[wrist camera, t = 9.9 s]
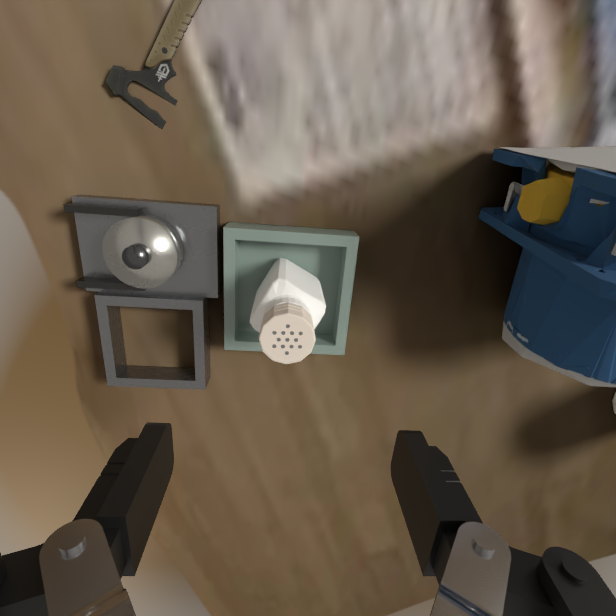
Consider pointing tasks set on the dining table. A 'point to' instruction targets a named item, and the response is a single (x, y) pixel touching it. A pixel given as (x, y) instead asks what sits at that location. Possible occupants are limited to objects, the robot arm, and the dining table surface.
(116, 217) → the grey caddy
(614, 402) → the white cup
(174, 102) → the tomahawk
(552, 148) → the blue boxy device
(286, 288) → the pepper shaker
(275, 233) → the tray
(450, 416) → the dining table surface
